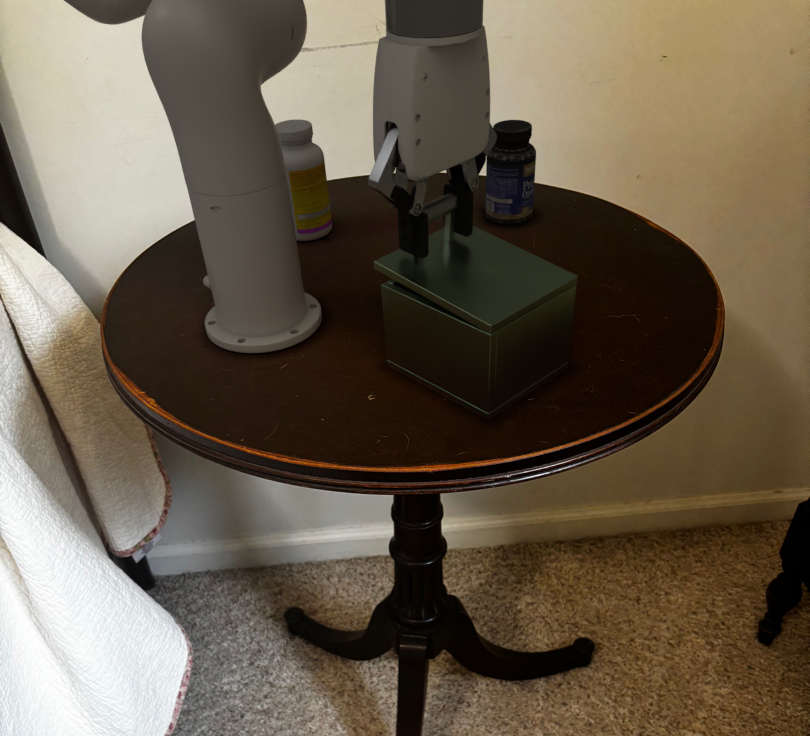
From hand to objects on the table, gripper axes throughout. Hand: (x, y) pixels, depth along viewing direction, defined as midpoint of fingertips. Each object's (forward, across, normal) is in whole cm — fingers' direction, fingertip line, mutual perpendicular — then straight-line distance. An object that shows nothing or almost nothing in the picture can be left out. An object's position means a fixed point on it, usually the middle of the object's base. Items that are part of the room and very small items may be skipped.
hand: (436, 240), depth 74 cm
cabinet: (+11, 0, +5) cm, 13 cm away
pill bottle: (+12, -29, -15) cm, 35 cm away
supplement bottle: (+12, -10, -32) cm, 36 cm away
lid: (+2, 0, +5) cm, 5 cm away
